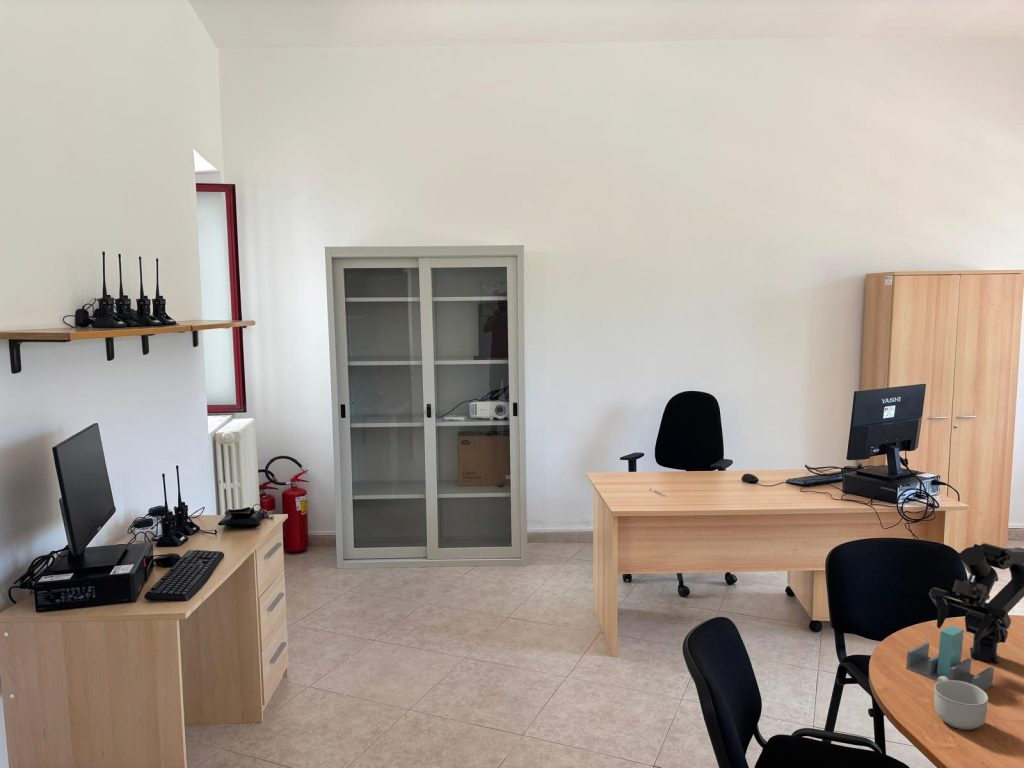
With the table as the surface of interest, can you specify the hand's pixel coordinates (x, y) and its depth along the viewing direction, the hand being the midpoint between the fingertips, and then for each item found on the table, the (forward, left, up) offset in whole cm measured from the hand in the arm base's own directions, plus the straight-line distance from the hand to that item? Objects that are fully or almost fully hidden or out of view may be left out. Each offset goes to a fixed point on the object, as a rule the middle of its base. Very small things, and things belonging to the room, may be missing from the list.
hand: (956, 634), depth 195 cm
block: (+2, -1, -10) cm, 11 cm away
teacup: (+24, 0, -11) cm, 27 cm away
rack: (+2, -1, -11) cm, 11 cm away
